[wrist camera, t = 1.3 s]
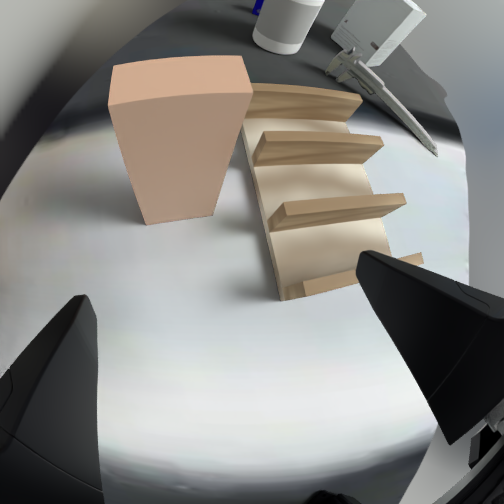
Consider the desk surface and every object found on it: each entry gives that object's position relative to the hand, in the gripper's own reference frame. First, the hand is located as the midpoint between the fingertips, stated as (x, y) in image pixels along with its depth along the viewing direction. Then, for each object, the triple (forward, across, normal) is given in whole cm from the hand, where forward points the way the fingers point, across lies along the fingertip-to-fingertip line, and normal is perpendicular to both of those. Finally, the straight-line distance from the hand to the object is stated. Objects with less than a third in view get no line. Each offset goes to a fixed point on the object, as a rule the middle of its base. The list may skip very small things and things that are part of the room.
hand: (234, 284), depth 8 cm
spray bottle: (+32, -13, -14) cm, 38 cm away
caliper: (+24, -27, -5) cm, 37 cm away
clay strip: (+15, +1, +3) cm, 16 cm away
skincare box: (+34, -28, -16) cm, 47 cm away
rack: (+16, -12, +3) cm, 20 cm away
